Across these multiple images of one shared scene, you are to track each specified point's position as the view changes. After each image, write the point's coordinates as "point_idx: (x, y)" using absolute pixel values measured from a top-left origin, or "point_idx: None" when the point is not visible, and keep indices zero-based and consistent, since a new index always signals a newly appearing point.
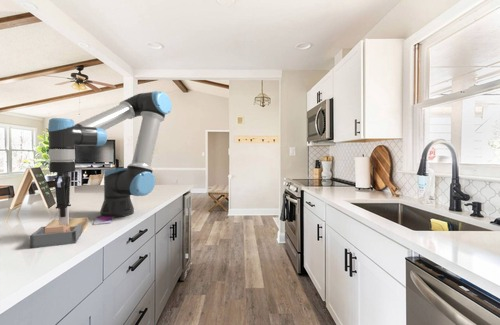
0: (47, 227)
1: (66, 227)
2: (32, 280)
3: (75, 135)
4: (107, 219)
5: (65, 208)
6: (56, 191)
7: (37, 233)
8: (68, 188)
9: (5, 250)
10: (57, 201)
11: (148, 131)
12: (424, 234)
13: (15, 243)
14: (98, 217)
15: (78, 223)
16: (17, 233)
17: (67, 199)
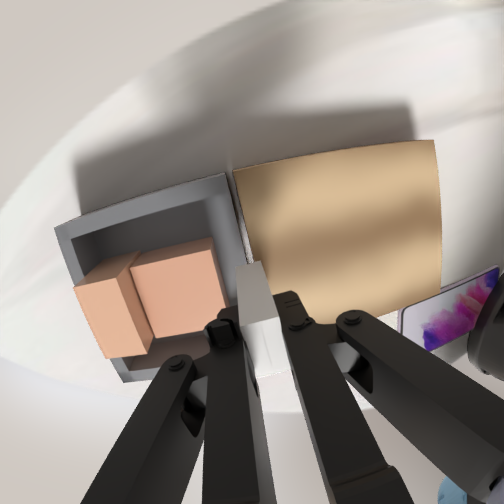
0: (85, 293)
1: (202, 318)
2: None
3: None
4: (446, 331)
5: (253, 363)
6: (89, 500)
7: (101, 227)
8: (436, 461)
9: (73, 131)
10: (143, 408)
11: None
12: None
13: (156, 102)
14: (487, 278)
15: (326, 312)
16: (328, 26)
17: (304, 415)
